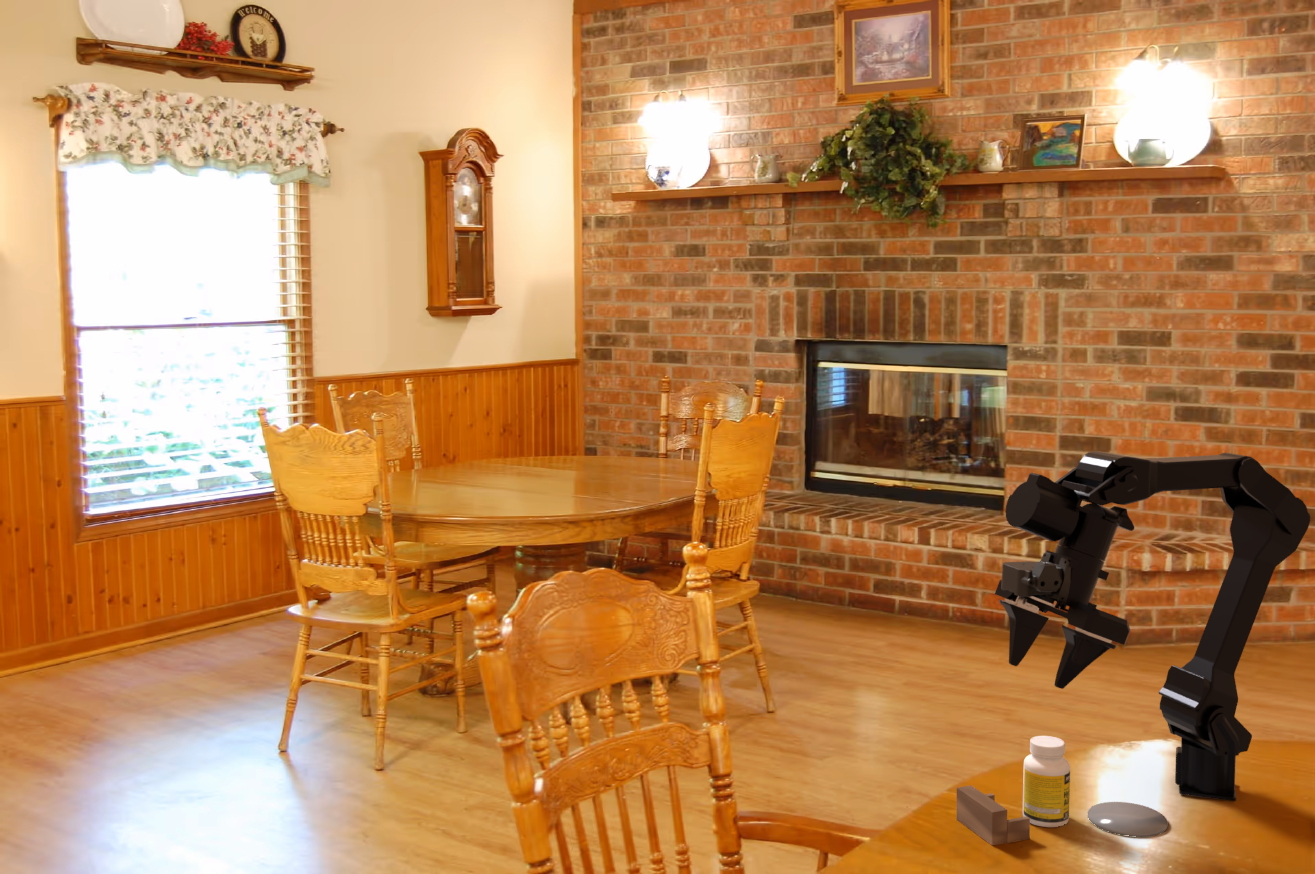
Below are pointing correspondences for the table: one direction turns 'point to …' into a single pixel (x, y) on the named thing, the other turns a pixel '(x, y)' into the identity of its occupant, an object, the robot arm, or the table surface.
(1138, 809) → the slate coaster
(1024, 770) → the supplement bottle
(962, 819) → the bracket
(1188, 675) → the robot arm
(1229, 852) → the table surface
